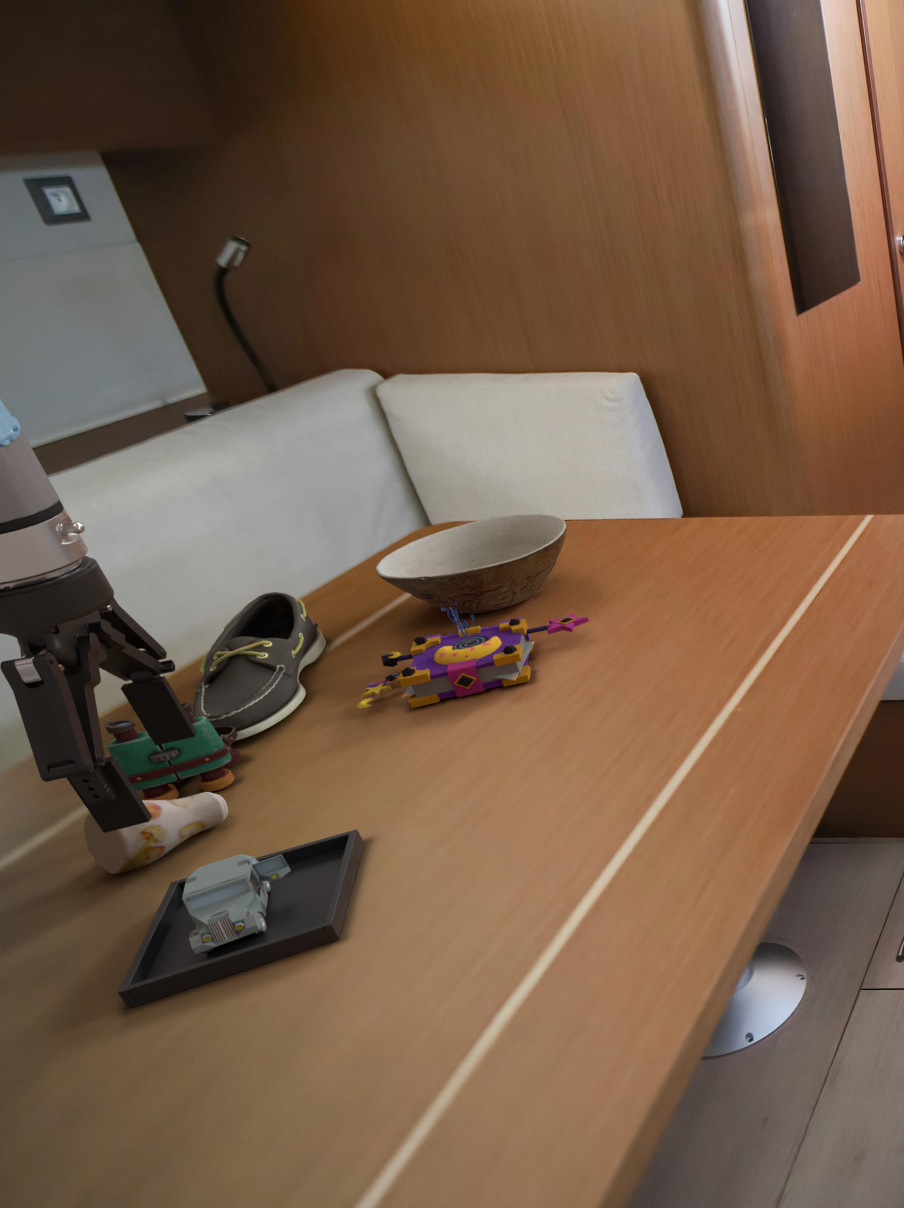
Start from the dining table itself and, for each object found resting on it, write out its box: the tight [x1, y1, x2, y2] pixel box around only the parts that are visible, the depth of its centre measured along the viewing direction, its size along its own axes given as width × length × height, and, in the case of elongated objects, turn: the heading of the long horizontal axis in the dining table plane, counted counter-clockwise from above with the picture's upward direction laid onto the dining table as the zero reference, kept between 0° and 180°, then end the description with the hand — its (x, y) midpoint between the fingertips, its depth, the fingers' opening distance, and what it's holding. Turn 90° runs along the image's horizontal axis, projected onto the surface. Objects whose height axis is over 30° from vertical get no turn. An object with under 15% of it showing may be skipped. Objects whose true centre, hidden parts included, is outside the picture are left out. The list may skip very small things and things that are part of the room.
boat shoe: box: [191, 591, 327, 742], centre depth 124 cm, size 11×29×9 cm, turn 38°
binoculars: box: [103, 701, 243, 801], centre depth 108 cm, size 9×11×10 cm
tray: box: [117, 828, 365, 1009], centre depth 92 cm, size 14×15×2 cm
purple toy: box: [357, 595, 590, 709], centre depth 128 cm, size 15×25×12 cm, turn 121°
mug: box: [83, 791, 229, 875], centre depth 100 cm, size 8×10×10 cm
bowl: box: [375, 513, 568, 615], centre depth 148 cm, size 24×24×10 cm
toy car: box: [182, 853, 291, 954], centre depth 91 cm, size 6×10×5 cm, turn 40°
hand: (154, 779), depth 86 cm, fingers open, 13 cm apart
